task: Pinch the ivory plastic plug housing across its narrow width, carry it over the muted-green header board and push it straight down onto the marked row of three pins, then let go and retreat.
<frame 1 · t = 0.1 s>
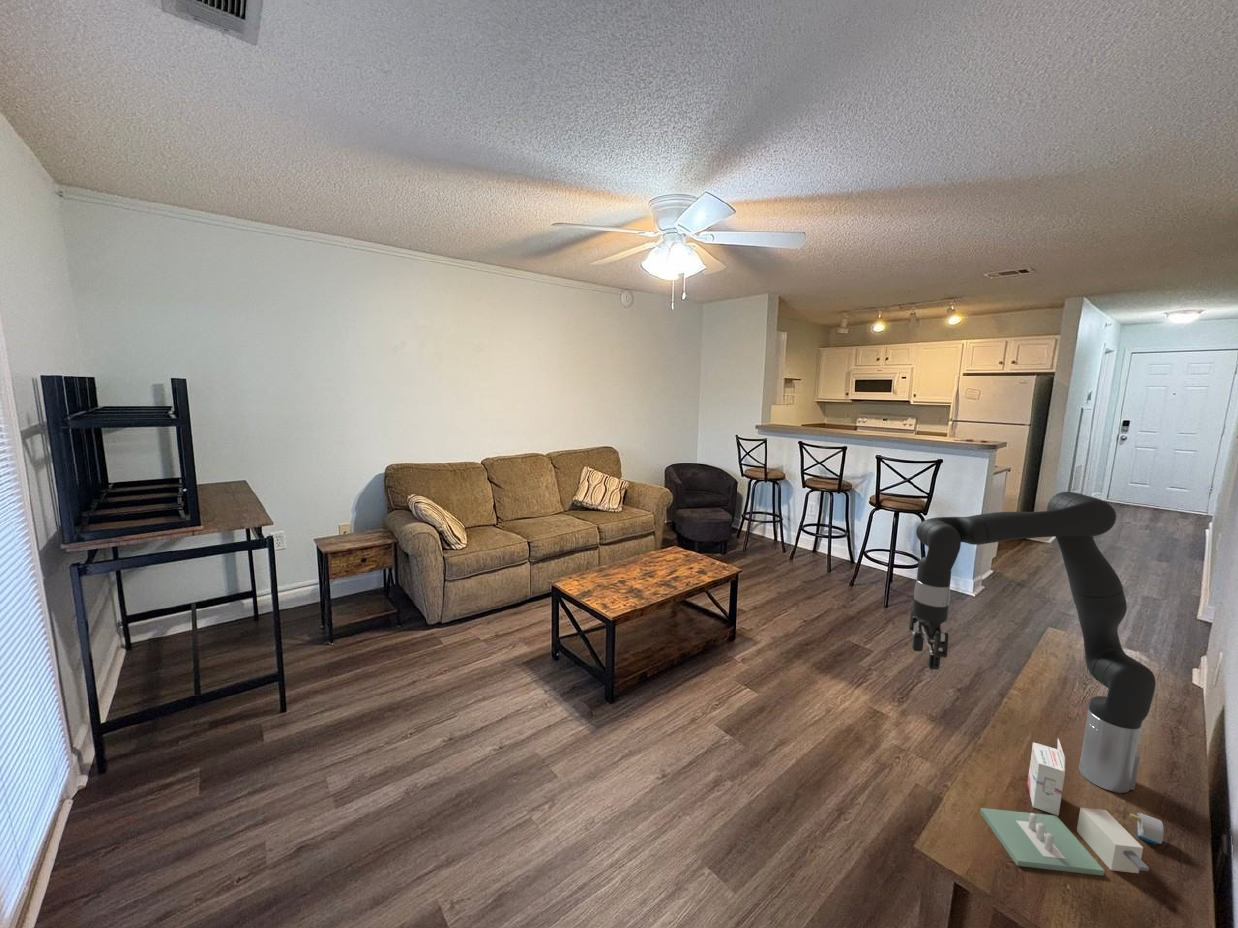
hand: (925, 659, 125), 29 cm above the table, fingers open, 8 cm apart
electric motor: (1142, 837, 108), on the table
plug housing: (1106, 851, 105), on the table
ink cartridge box: (1041, 799, 118), on the table
header board: (1037, 841, 107), on the table
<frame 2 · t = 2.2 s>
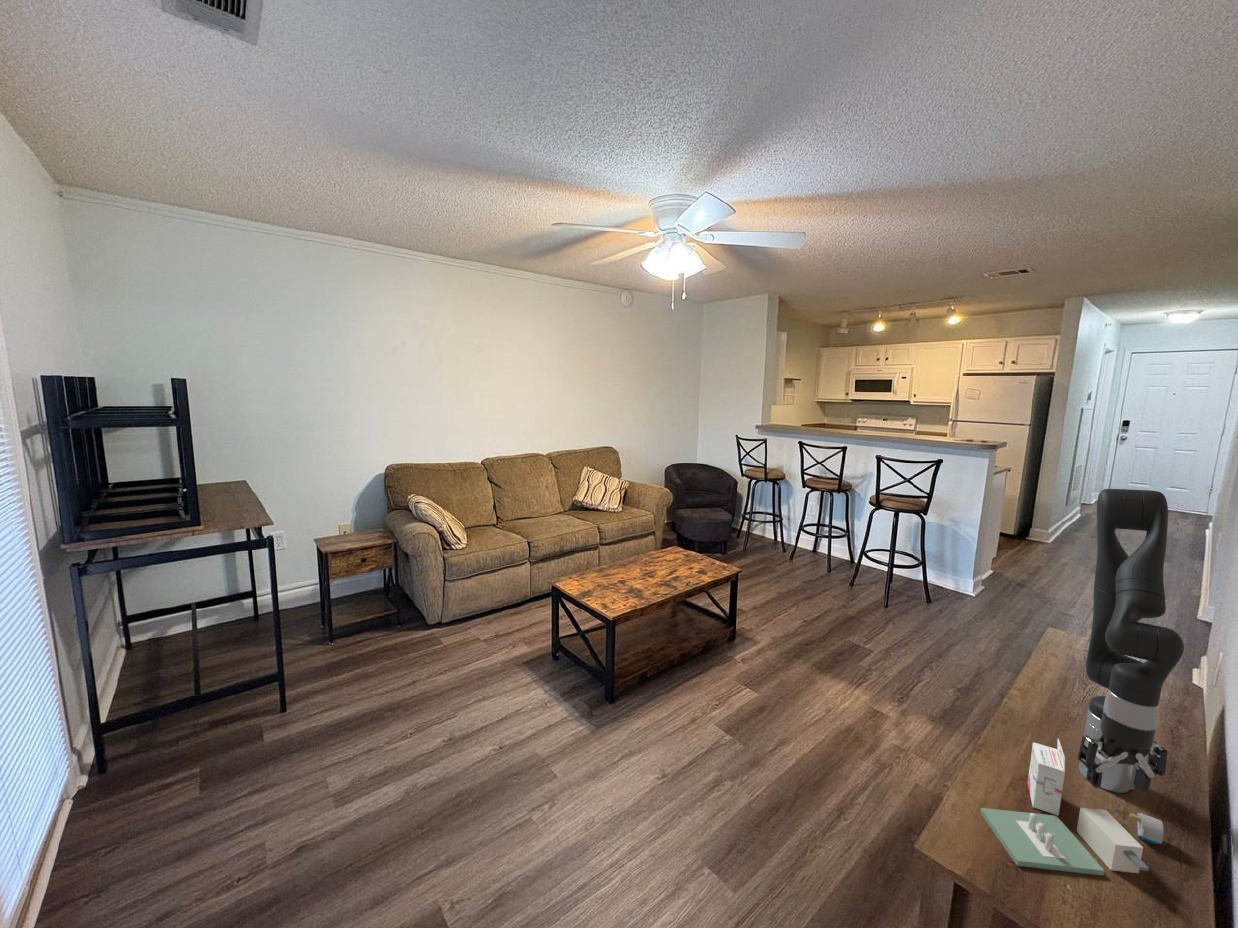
hand: (1116, 786, 102), 15 cm above the table, fingers open, 8 cm apart
nothing on the table moved.
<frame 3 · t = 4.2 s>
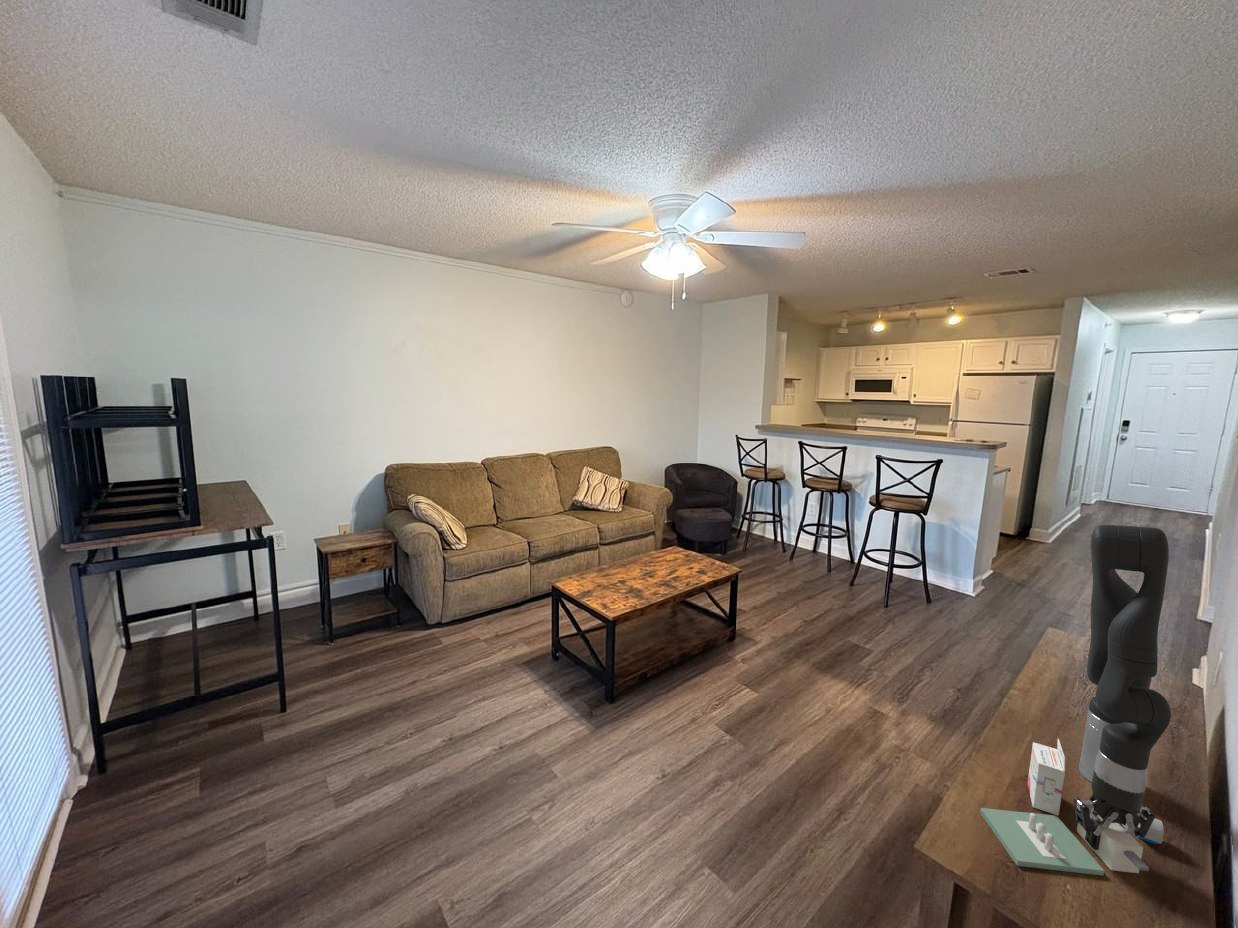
hand: (1106, 847, 104), 1 cm above the table, fingers closed on plug housing, 5 cm apart
plug housing: (1106, 851, 105), on the table, touching gripper
everything else where it was.
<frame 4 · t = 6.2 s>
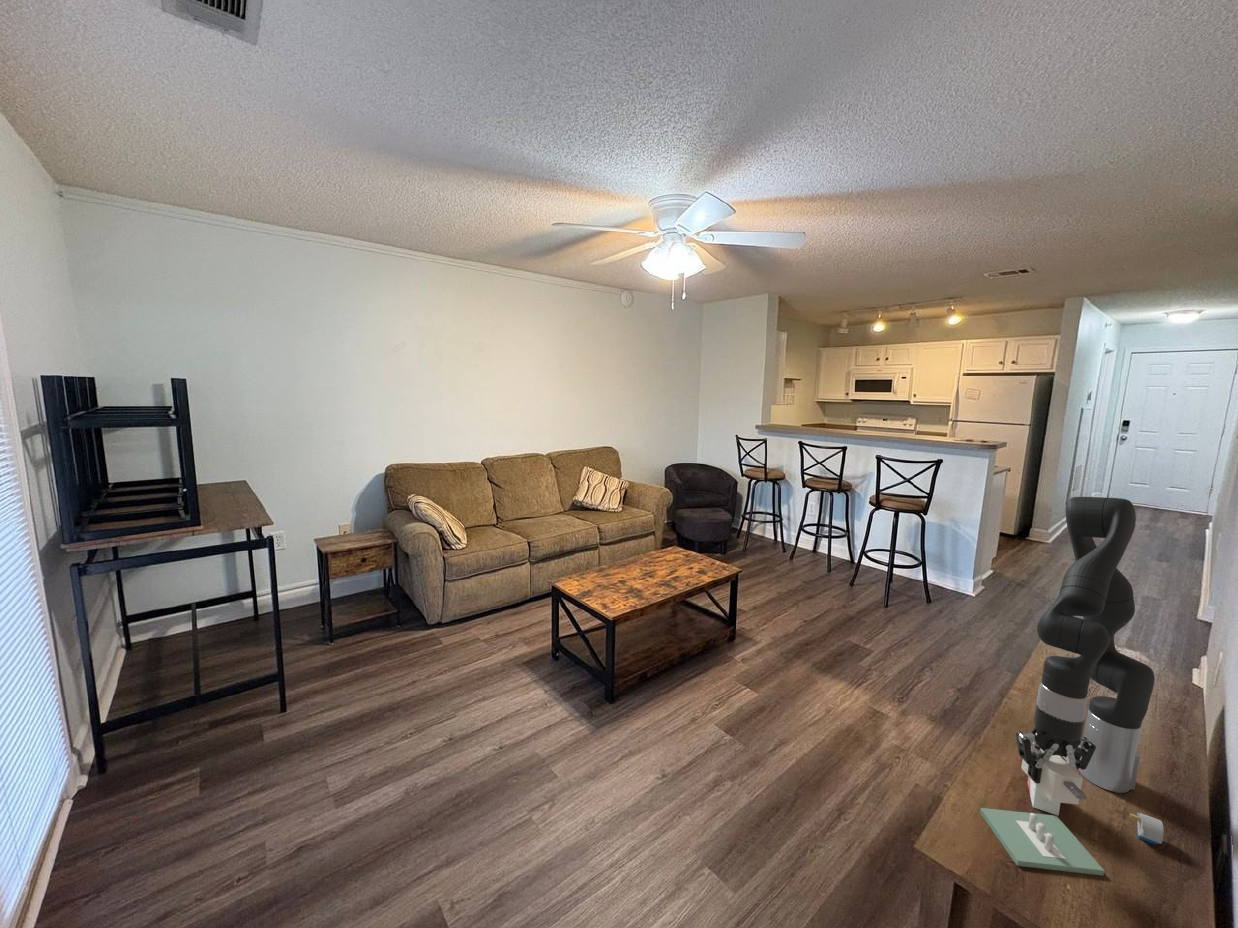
hand: (1048, 781, 104), 15 cm above the table, fingers closed on plug housing, 5 cm apart
plug housing: (1048, 785, 104), point 14 cm above the table, touching gripper
everything else where it was.
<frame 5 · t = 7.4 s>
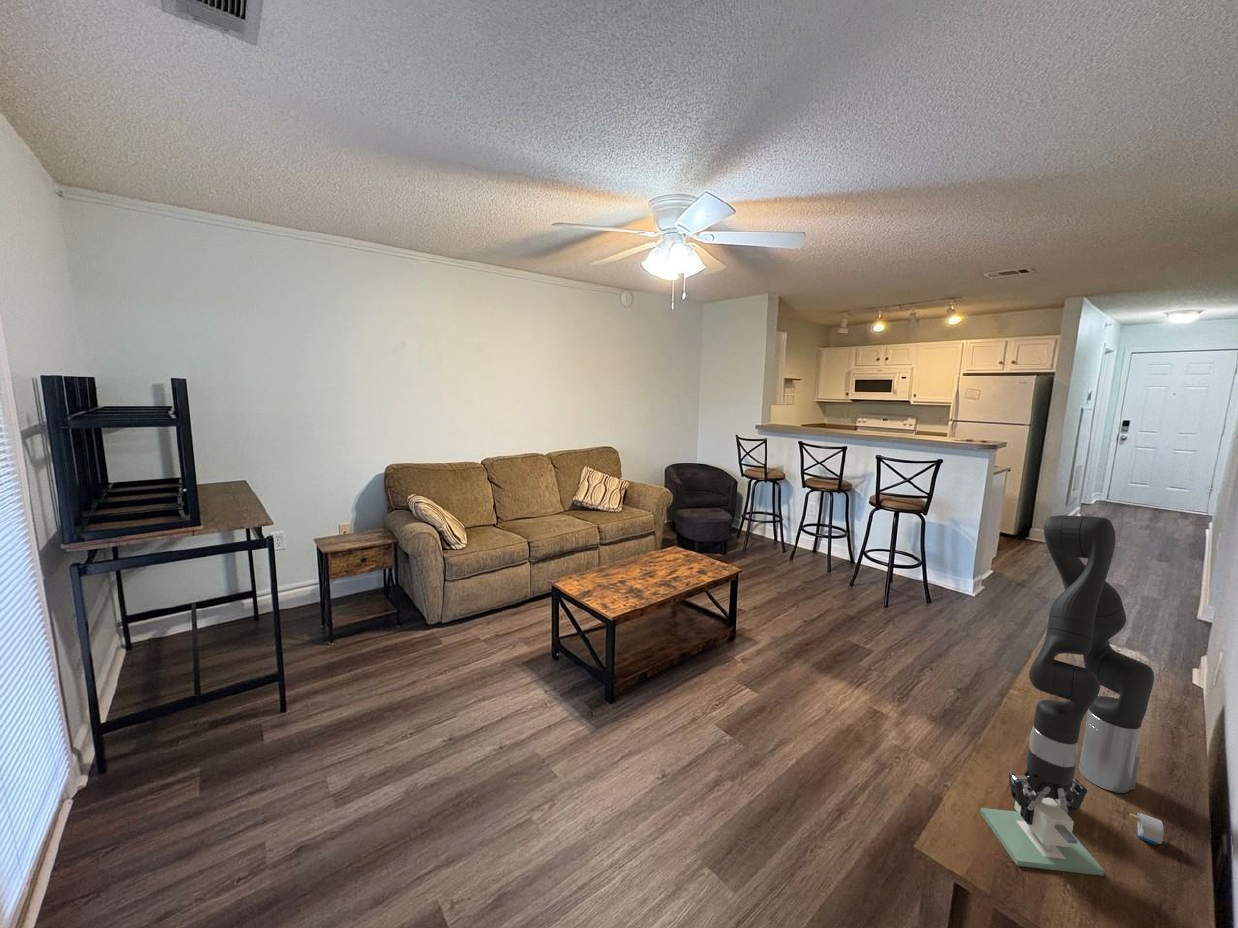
hand: (1041, 822, 106), 5 cm above the table, fingers closed on plug housing, 5 cm apart
plug housing: (1040, 826, 106), point 4 cm above the table, touching gripper
everything else where it was.
when the fingers open (3 cm above the table, at t = 8.3 s): plug housing stays where it is, resting on header board.
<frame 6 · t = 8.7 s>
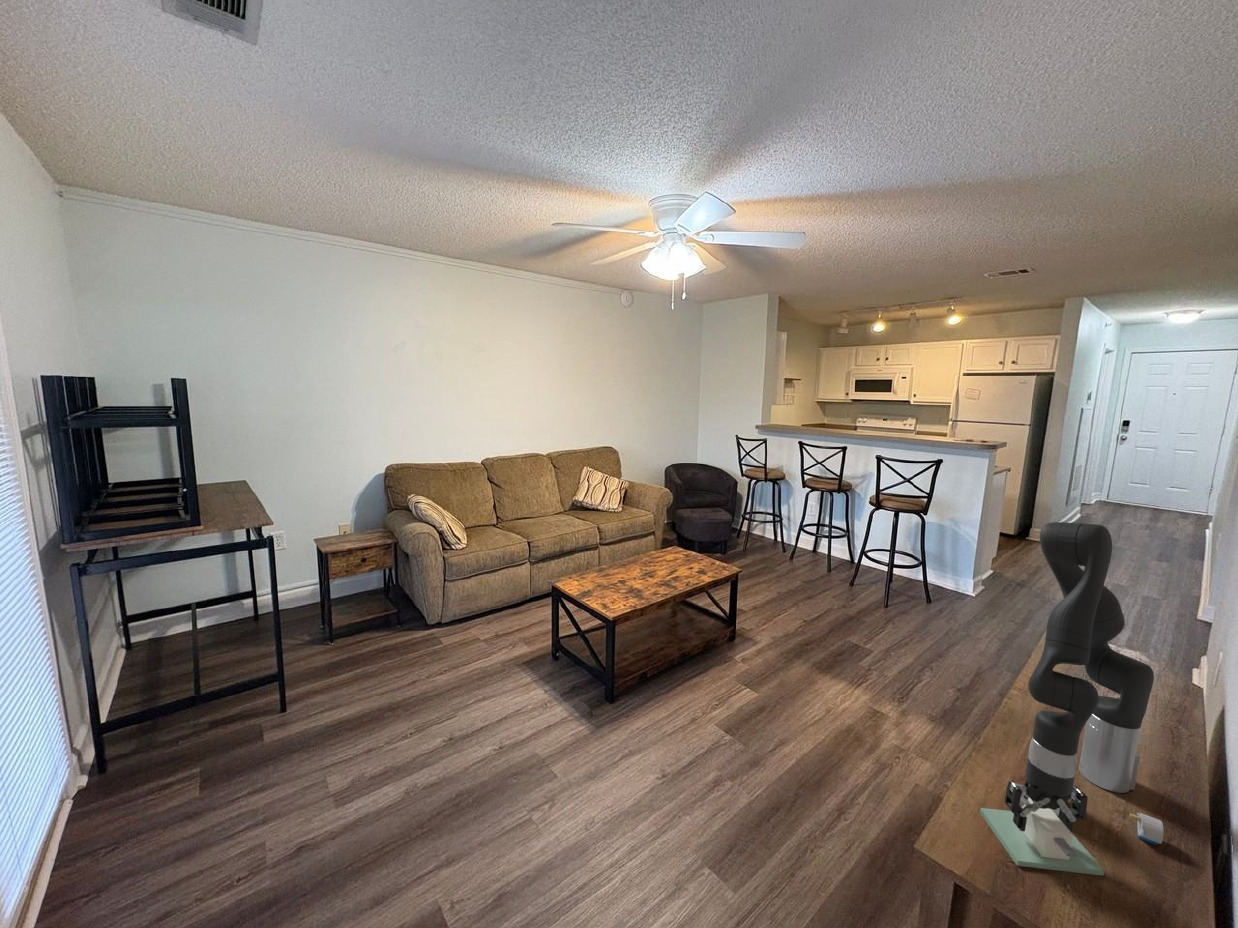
hand: (1041, 830, 106), 3 cm above the table, fingers open, 8 cm apart
plug housing: (1040, 838, 106), point 1 cm above the table, touching header board
everything else where it was.
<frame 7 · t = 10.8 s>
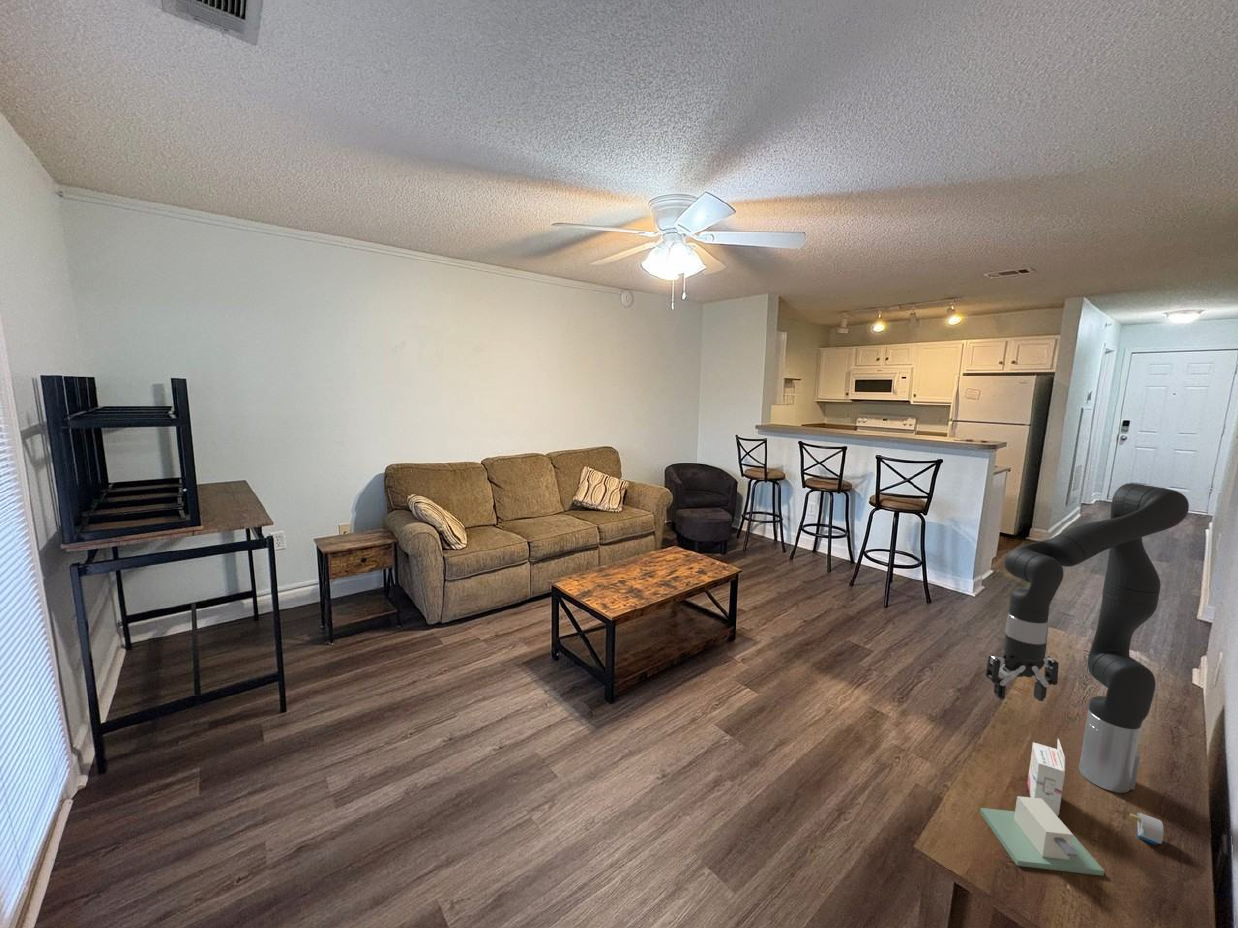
hand: (1018, 698, 117), 25 cm above the table, fingers open, 8 cm apart
nothing on the table moved.
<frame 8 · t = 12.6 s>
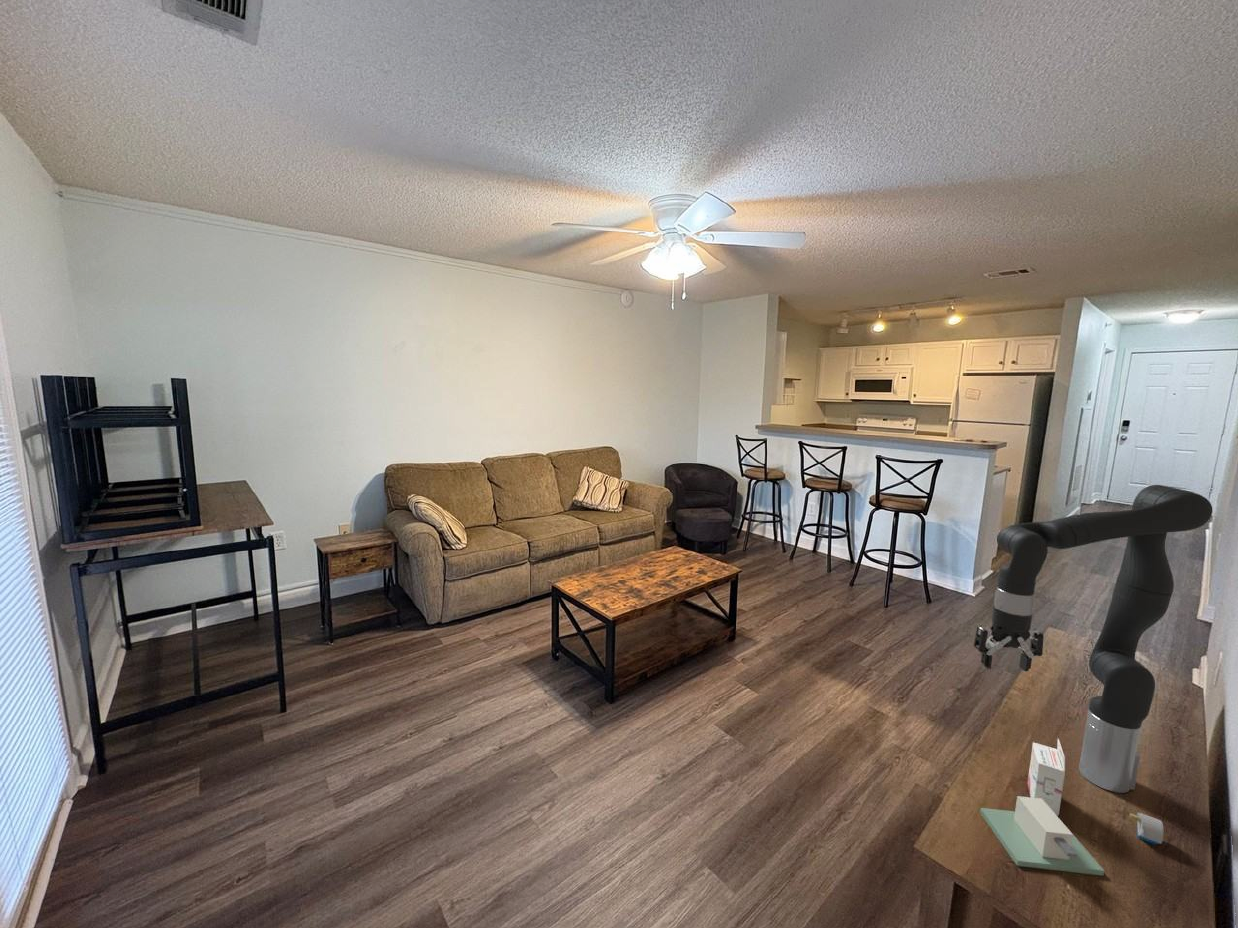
hand: (1004, 668, 123), 28 cm above the table, fingers open, 8 cm apart
nothing on the table moved.
at the end: plug housing 0.1 cm off-centre on the header board, point 1.3 cm above the header board's base; plug housing tilted 0°; the gripper is holding nothing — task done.
